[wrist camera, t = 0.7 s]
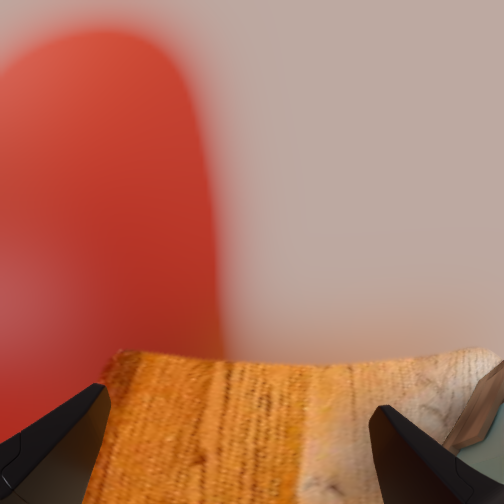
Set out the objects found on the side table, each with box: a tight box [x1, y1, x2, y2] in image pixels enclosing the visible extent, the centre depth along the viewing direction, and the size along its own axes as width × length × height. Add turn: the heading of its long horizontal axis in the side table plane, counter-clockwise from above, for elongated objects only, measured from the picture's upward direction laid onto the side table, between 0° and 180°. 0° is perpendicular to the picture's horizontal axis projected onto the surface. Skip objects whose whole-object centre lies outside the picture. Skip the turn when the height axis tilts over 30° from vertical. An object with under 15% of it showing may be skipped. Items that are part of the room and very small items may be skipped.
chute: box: [442, 360, 504, 457], centre depth 10 cm, size 12×7×6 cm, turn 129°
